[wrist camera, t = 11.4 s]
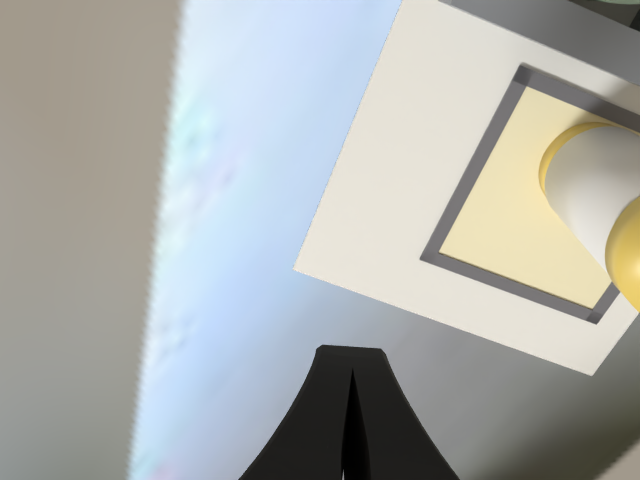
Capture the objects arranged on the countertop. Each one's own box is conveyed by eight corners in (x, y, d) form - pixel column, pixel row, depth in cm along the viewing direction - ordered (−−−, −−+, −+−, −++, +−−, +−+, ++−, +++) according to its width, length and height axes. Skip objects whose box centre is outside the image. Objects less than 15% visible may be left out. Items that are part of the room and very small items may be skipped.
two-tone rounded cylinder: (624, 218, 20) (750, 331, 14) (524, 212, 20) (604, 321, 14) (653, 120, 19) (810, 196, 12) (546, 114, 19) (647, 186, 12)
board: (588, 371, 23) (592, 378, 23) (293, 266, 22) (292, 271, 22) (941, -104, 16) (956, -107, 16) (529, -311, 14) (534, -319, 14)
